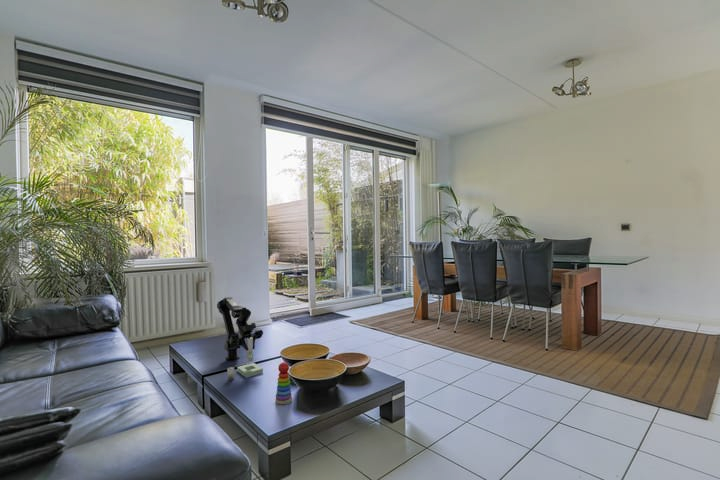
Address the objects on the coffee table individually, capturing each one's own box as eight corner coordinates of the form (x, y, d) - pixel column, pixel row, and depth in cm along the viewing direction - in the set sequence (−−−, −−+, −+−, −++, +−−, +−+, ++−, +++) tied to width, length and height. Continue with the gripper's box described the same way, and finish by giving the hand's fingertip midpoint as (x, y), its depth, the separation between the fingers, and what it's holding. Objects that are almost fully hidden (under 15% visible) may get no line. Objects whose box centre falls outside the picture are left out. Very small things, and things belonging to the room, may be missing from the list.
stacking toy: (293, 403, 174) (293, 364, 173) (276, 406, 171) (276, 367, 170) (290, 396, 181) (290, 359, 180) (274, 399, 178) (273, 361, 177)
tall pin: (247, 359, 212) (246, 337, 211) (253, 358, 213) (253, 336, 212) (246, 361, 209) (246, 339, 208) (252, 361, 209) (252, 338, 209)
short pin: (226, 379, 202) (226, 368, 201) (232, 377, 204) (232, 366, 204) (229, 381, 199) (228, 370, 199) (235, 379, 201) (235, 368, 201)
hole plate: (237, 371, 212) (237, 367, 212) (253, 366, 219) (253, 362, 219) (246, 377, 203) (246, 373, 203) (262, 372, 210) (262, 368, 210)
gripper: (230, 321, 207) (238, 345, 199) (261, 316, 219) (270, 339, 211) (226, 332, 213) (233, 356, 205) (256, 326, 225) (264, 348, 217)
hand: (250, 349), depth 209 cm, fingers closed on tall pin, 4 cm apart
